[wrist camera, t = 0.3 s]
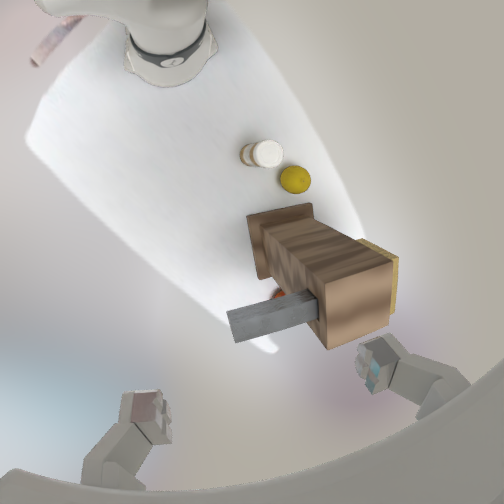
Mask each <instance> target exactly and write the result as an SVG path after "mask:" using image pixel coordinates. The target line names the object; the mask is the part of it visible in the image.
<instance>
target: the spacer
mask: <svg viewBox="0 0 504 504" xmlns="http://www.w3.org/2000/svg"><path fill="white" fill-rule="evenodd" d="M356 241H358V242H359V243H361V244H363V245H365V246H367V247H369V248H371V249H373V250H374V251H376V252H378V253H380V254H382V255H384V256H385V257H387V258H389V259H391V260H393V281H392V295H391V306H390V315H391V314H393V313H394V311H395V303H396V292H397V280H398V262H399V257H398V256H396V255H394V254H392V253H390V252H388V251H386V250H384V249H382V248H380V247H379V246H377V245H375V244H373V243H370V242H369V241H367V240H365V239H363V238H361V239H358V240H356Z"/></svg>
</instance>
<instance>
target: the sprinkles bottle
mask: <svg viewBox="0 0 504 504" xmlns="http://www.w3.org/2000/svg"><path fill="white" fill-rule="evenodd" d="M283 157H284V152H283V148H282V146H281V145H280V144H279V143H278V142H276V141H274V140H264V141H261V142H259V143H253V144H249V145H246V146H244V147H243V148H242V150H241V152H240V159H241V161H242V162H243V163H244V164H245V165H247V166H255V167H263V168H274V167H277V166H278V165H279V164H280V163H281V162H282V160H283Z"/></svg>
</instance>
